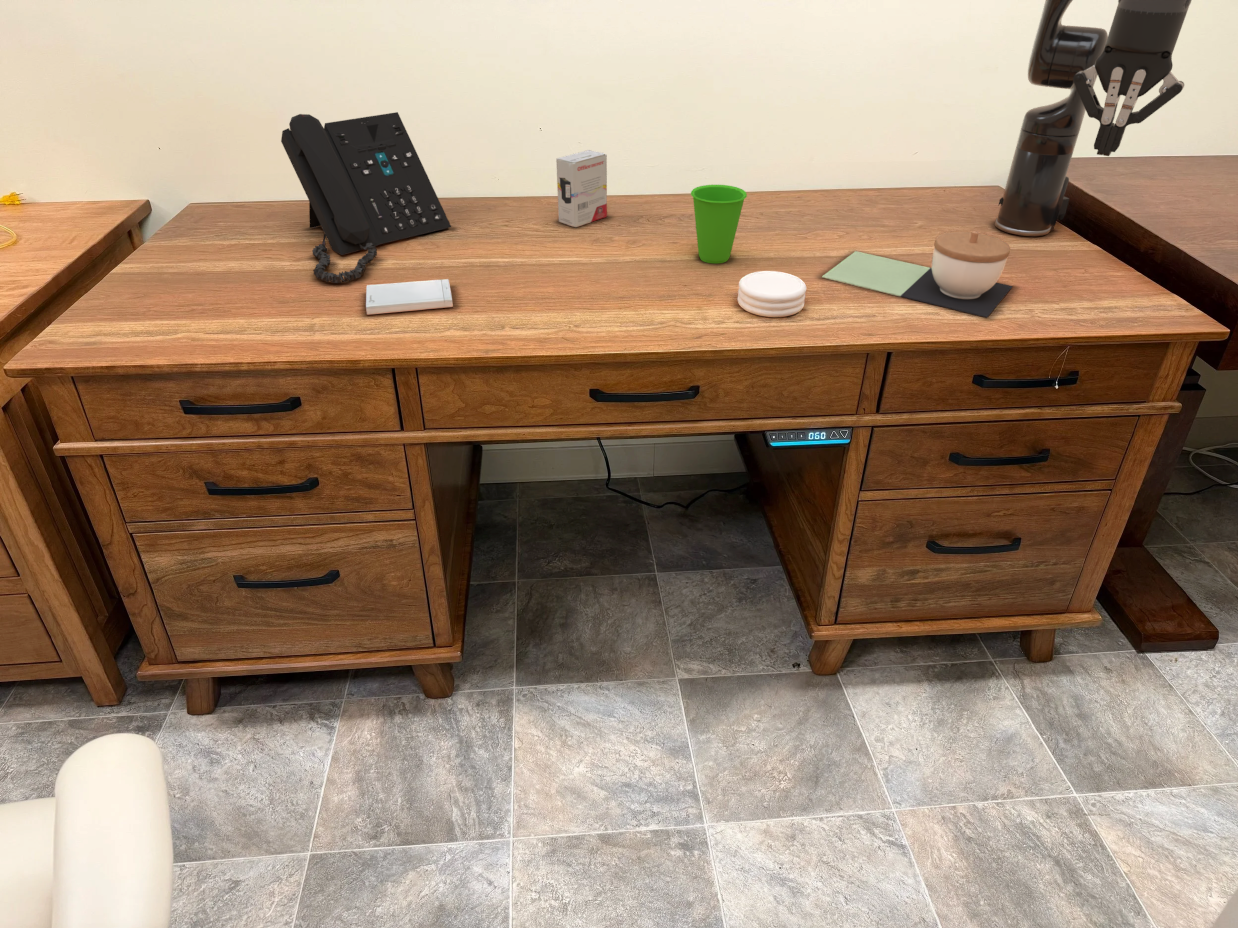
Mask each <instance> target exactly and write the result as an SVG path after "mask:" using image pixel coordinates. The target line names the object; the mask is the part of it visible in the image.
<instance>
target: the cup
mask: <svg viewBox="0 0 1238 928" xmlns="http://www.w3.org/2000/svg"><path fill="white" fill-rule="evenodd" d="M690 195H691V197H692V199H693V210H694V212H693V213H694V220H695V231H696V241H697V242H696V243H697V252H698V258H699V260H700V261H701V262H704V263H706V264H707V263H708V264H723V263H726V262H728V261H729V260H730V257H731V254H732V250H733V246H734V242H735V238H736V233H737V230H738V226H739V222H740V218H741V213H742V209H743V205H744V202H745V199H746V198H747V197H748V193H747V192H746V190H744V189H743V188H740V187H737V186H734V185H729V184H728V185H726V184H705V185H704V184H703V185H700V186H696V187H694V188H692V190H691V191H690Z"/></svg>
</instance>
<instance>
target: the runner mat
mask: <svg viewBox="0 0 1238 928" xmlns="http://www.w3.org/2000/svg"><path fill="white" fill-rule="evenodd" d="M821 278H823V279H826V280H829V281H833V282H834V281H835V282H839V283H843V284H846V285H850V286H855V287H858V288H862V289H866V290H871V291H875V292H879V293H884V294H887V295H892V296H895V297H900V298H903V299H908V300H912V301H916V302H920V303H924V304H927V305H932V306H937V307H940V308H944V309H948V310H953V311H957V312H960V313H965V314H968V315H973V316H977V317H981V318H984V319H987V318H988V317H990V315H991V314H992V313H993V311H994V310H995V309H996V308H997V306H998V305H999V304H1000V303H1001V302H1002V300H1003V299H1004V298H1005V297H1006V295H1007V294H1008V293H1009V292H1010V291H1011V290H1012V288H1013V285H1011V284H1005V283H1000V282H996V283H995V285H994V286H993V287H992V288H990V289H989V290H988V291H986V292H984V293H983V294H981V296H980V297H978V298H975V299H959V298H954V297H950V296H948V295H945V294H944V293H942V292H941V291H940V287H939V286H938V285H937V283H936V282H935V280H934V277H933V274H932V267H929V266H923V265H920V264H916V263H911V262H906V261H902V260H899V259H893V258H888V257H884V256H880V255H875V254H871V253H866V252H861V251H858V250H855V251H854V252H852V253H851V254H850V255H849V256H847V257H845V259H843V260H842V261H841V262H839V263H837V264H836V265H835V266H834V267H833V268H831V269H829V271H826V273H825V274H823V275H822V276H821Z"/></svg>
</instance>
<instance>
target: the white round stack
mask: <svg viewBox="0 0 1238 928" xmlns="http://www.w3.org/2000/svg"><path fill="white" fill-rule="evenodd" d="M806 292H807V284H806V283H805V282H804V281H803V280H802V279H801V278H800V277H798V276H796V275H794V274H791V273H787V272H783V271H777V270H759V271H754V272H750V273H748V274H746V275H744V276H743V277H742V278H740V279H739V282H738V289H737V294H738V295H737V297H736V298H737V303H738V305H739V306H740V307H741V308H742V310H744V311H746V312H748V313H749V314H752V315H756V316H760V317H765V318H766V317H767V318H783V317H790V316H793V315H796V314H798V313H799V312H801V311H802V310H803V308H804V307H805V300H806V297H807V295H806Z"/></svg>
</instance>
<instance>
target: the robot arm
mask: <svg viewBox="0 0 1238 928" xmlns="http://www.w3.org/2000/svg"><path fill="white" fill-rule="evenodd" d="M1073 1H1074V0H1045V1H1044V4H1043V8H1042V12H1041V16H1040V20H1039V23H1038V25H1037V26H1038V27H1037V30H1036V33H1035V37H1034V40H1033V44H1032V48H1031V52H1030V56H1029V61H1028V66H1027V80H1028V82H1029V83H1030V84H1031V85H1034V86H1038V87H1045V88H1055V89H1065V90H1070V92H1069V94H1068V95H1067V96H1066V97H1065V98H1063V99H1061V100H1059V101H1057V102H1054V103H1050V104H1046V105H1040V106H1037V107H1033V108H1031V109H1029V110H1027V111H1026V112H1025V113H1024V115H1023V119H1022V123H1021V126H1020V127H1021V128H1020V129H1019V130H1020V131H1019V134H1018V137H1017V141H1016V146H1015V150H1014V154H1013V157H1012V160H1011V166H1010V169H1009V172H1008V176H1007V179H1006V184H1005V186H1004V191H1003V195H1002V197H1001V198H999V200H998V206H999V210H998V214H997V217H996V219H995V222H994V226H995V227H996V228H997V229H999V230H1000V231H1002V232H1005V233H1006V234H1007V233H1008V234H1010V235H1011V234H1012V235H1015V236H1020V237H1021V236H1023V237H1043V236H1045V235H1048V234H1049V233H1050V232H1053V231H1054V230H1055V227H1056V224H1057V222H1058V220H1064V218H1065V215H1066V213H1067V208H1068V205H1069V202H1070V198H1069V197H1067V196H1065V194H1066V191H1067V188H1068V185H1069V181H1070V178H1069V176H1067V175H1068V170H1069V167H1070V164H1071V161H1072V157H1073V154H1074V151H1075V147H1076V143H1077V140H1078V136H1079V135H1080V131H1081V128H1082V124H1083V121H1084V118H1085V117H1084V116H1085V114H1087V116H1088V117H1089V118H1092V119H1095V120H1097V121H1098V122H1099V128H1098V131H1097V134H1096V136H1095V140H1094V143H1093V149H1094V150H1097V152H1096V155H1097V156H1104V157H1110V156H1111V154H1112V153H1116V151H1117V150H1118V149H1119V147H1120V145H1121V142H1122V141H1123V140H1122V139H1123V137H1124V134H1125V131H1126V129H1127V126H1129V125H1134V124H1141V123H1143V122H1144V121H1145V120H1146V119H1148V118H1149V117H1150V116H1152V115H1153V114H1155V112H1157V111H1158V110H1159V109H1160V108H1162V107H1164V106H1165V105H1166V104H1168V103H1169V102H1170V101H1171V100H1173V99H1174V98H1175V97H1176V96H1178V95H1179V94H1180V93H1181V92H1182V91H1183V89H1184V88H1185V82H1184V81H1182V80H1179V79H1177V77H1176V76H1175V75H1174V73H1172V72H1171V71H1172V70H1173V65H1174V64H1173V61H1172V60H1173V58H1172V57H1173V53H1174V51H1175V47H1176V45H1177V42H1178V40H1179V36H1180V33H1181V30H1182V28H1183V25H1184V22H1185V19H1186V17H1187V14H1188V11H1189V8H1190V5H1191V3H1192V0H1117V6H1116V9H1115V13H1114V16H1113V19H1112V23H1111V25H1110V29H1109V32H1108V31H1107V30H1106V29H1104V28H1102V27H1095V26H1094V27H1091V26H1081V25H1080V26H1078V25H1065V24H1062V20H1063V18H1064V15H1065V13H1066V12H1067V10H1068V8H1069V6H1070V5H1071V3H1072V2H1073ZM1097 78H1098V79H1099V82H1100V85H1101V87H1102V90H1103V91H1104V92H1105V93H1106V96H1105V100H1104V107H1102V106H1101V103H1100V100H1099V98H1098V96H1097V94H1096V91H1095V89H1094V87H1095V83H1096V81H1097ZM1162 80H1163V83H1162V84H1161V85H1160V87H1159V89H1158V93H1159V95H1157V96H1155V97H1154V98H1153V99H1152V100H1151V101H1150V102H1148V103H1147V104H1146V105H1144V106H1143V107H1142V108H1140V109H1139V110H1136V111H1133V110H1134V108H1135V106H1136V104H1137V102H1138V99H1139V98H1141V97H1142V96H1144V95H1146V94H1147V93H1149V92H1150V91H1151V90H1152V89H1154V87H1156V85H1158V84H1159V83H1160V82H1161V81H1162ZM1121 96H1123V97H1124V98H1123V99H1124V100H1123V102H1122V105H1121V108H1120V109H1119V113H1118V115H1117V117H1116V112H1117V108H1118V106H1119V102H1120V98H1121ZM1115 117H1116V119H1115ZM1114 121H1115V122H1114Z"/></svg>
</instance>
